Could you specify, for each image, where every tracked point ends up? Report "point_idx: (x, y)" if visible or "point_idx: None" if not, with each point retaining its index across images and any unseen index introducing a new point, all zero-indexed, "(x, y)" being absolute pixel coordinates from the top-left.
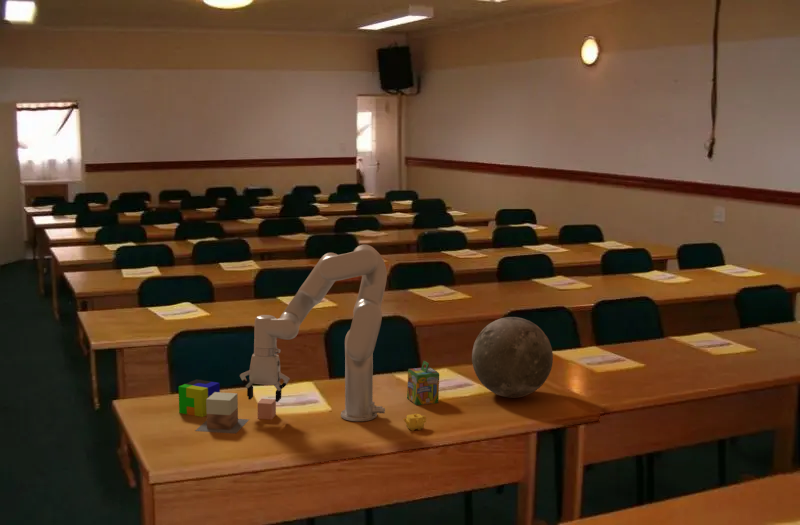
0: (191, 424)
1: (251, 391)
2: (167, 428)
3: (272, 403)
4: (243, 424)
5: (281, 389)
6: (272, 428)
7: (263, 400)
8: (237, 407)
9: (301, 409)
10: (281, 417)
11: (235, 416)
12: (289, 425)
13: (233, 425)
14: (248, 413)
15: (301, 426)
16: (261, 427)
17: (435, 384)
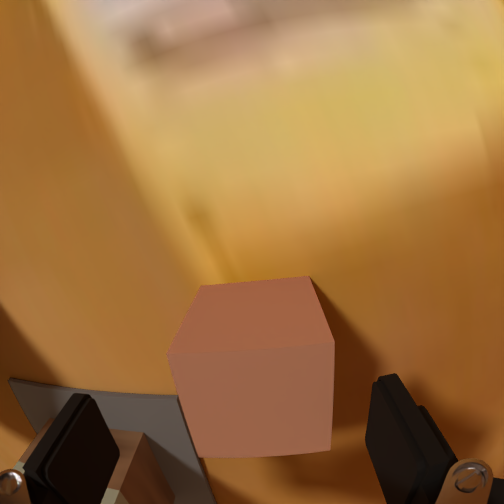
0: (17, 434)
1: (88, 484)
2: (4, 454)
3: (330, 429)
4: (191, 456)
5: (461, 470)
6: (349, 450)
7: (215, 401)
8: (120, 495)
9: (432, 92)
10: (358, 297)
11: (144, 485)
12: (426, 396)
13: (162, 476)
14: (101, 276)
15: (476, 384)
16: (291, 455)
17: None
